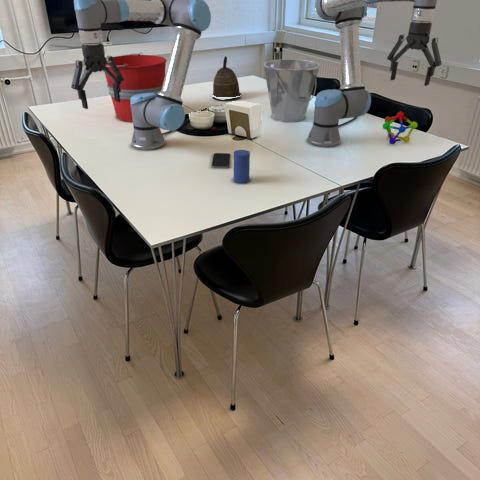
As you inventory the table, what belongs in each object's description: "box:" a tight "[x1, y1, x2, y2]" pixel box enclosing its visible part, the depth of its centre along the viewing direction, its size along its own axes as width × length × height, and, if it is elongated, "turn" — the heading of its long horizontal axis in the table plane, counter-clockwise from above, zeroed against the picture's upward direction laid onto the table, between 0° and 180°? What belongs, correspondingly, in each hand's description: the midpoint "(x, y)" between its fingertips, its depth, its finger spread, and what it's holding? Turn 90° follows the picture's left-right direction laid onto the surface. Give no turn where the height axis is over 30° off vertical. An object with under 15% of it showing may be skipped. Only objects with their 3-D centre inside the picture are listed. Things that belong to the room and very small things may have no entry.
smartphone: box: [211, 152, 231, 169], centre depth 190 cm, size 7×1×15 cm
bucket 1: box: [104, 52, 168, 123], centre depth 239 cm, size 35×35×30 cm
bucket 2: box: [263, 58, 321, 123], centre depth 238 cm, size 30×30×28 cm
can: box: [233, 149, 251, 185], centre depth 170 cm, size 6×6×12 cm
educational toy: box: [382, 110, 418, 145], centre depth 207 cm, size 16×13×15 cm
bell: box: [212, 56, 242, 97], centre depth 278 cm, size 19×26×20 cm
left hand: (102, 104), depth 166 cm, fingers open, 13 cm apart
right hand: (409, 82), depth 171 cm, fingers open, 13 cm apart
